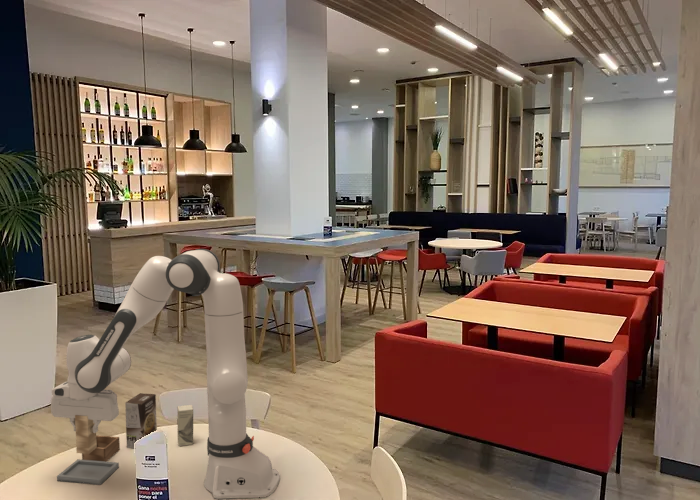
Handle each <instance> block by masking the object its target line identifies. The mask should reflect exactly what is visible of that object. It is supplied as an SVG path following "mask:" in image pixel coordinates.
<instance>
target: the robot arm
mask: <svg viewBox="0 0 700 500" xmlns="http://www.w3.org/2000/svg"><path fill="white" fill-rule="evenodd" d="M220 270H221V263H220V259H219V257H218V256H217V254H216V253H214V252H213V251H212V250H209V249H207V248H198V249H195V250H187V251H185V252H183V253H181V254H178V255H177V256H175V257H173V258H172V259H171V258H169V257H166V256H164V255H163V256H162V255H155V256H152V257H150V258H149V259H147V261H145V263H144V264H143V266H142V267H141V269H139V272H138V273H137V275H136V276H135V278H134V279H133V281H132V283H131V285H130V287H129V288H128V291H127V292H126V294H125V297H124V299H123V300H122V302H121V304H120V306H119V307H118V309H117V311H116V313H115V315H114V317H113V318H112V320H111V321H110V323H109V324H108V326H107V328H106V329H105V331H104V332H103V334H102V335H101V337H100V338H99V337H97V335H95V334H85V335H80V336H77V337H75V338H73V339H71V340H70V341H69V342H68V344H67V348H66V357H65V359H66V360H65V361H66V369H67V371H68V376H67V380H66V381H64V382H62V383H61V384H59V385H57V386H55V387H54V388H52V389H51V395H52V397H51V400H50V413H51V415H52V416H53V417H54V418H63V419H64V418H66V419H67V418H68V419H69V422H70V424H71V425H72V427H73V432H76V426H75V415H80V416H88V419H89V420H93V423H95V424H94V425H93V426H92V427H91V428H90V430H91V431H90V432H91V433H96V434H97V433H98V431H99V425H100V423H101V421H103V422H104V421H105V422H112V421H113V420H115V419H116V418H118V416H119V402H118V395H117V393H116V392H114V391H113V389H106V388H107V387H108V386H110V385H111V384H112V383H114V382H115V381H117V380H118V379H119V378H120V377H122V376H123V375H124V374H126V373H127V372H129V370H130V368H131V365H132V359H131V355H130V353H129V352H128V350H127V349H126V348H124V346H125V344H126V343H127V341H128V340H129V339H130V337H131V336H133V334H135V333H136V332H137V331H138V330H139V329H141V328H142V327H144V326H145V325H147V324H148V323H150V322H151V321H153V320H154V319H155V318H156V317H157V316H158V314H159V313H160V312H161V311H162V310H163V308H165V305H166V304H167V301H168V300H169V299H170V296H171V294H172V293H173V292H174V290H176V291H178V292H179V293H180V292H181V293H186V294H189V295H193V296H200V295H201V296H202V298H203V305H204V306H203V307H204V311H203V312H204V327H205V328H204V329H205V330H204V331H205V333H204V334H205V347H206V350H205V351H206V361H207V362H206V364H207V365H206V388H207V389H206V392H207V393H206V394H207V411H208V412H207V413H208V421H207V423H208V437H207V440H206V441H207V443H206V451H207V456H208V461H207V469H206V475H205V478H204V481H203V485H204V488H205V489H206V490H207V491H209V492H210V493H211V494H212V496H213V498H214V499H215V500H217V499H219V500H220V499H249V498H250V499H254V498H259V497H260V498H266V496H267V497H268V496H270V495H271V494H272V493H274V491H275V490H276V488H278V486H279V483H280V479H281V478H280V477H281V476H280V472H279V470H278V469H275V468H273V466H272V462H271V459H270V457H269V456H268V455H266V454H265V453H263V452H262V451H260V450H259V449H257V448H256V447H255V446H254V440H255V436H254V435H252V437H250V436H249V435H248V433H247V408H246V393H247V392H246V391H247V388H248V381H249V380H248V378H249V377H248V367H247V366H248V364H247V353H246V351H247V349H246V342H245V320H244V318H245V317H244V302H243V301H244V300H243V295H242V290H241V285H240V282H239V279H238V278H237V277H236V276H234V275H233V274H230V273H221V272H220Z"/></svg>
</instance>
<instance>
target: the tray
mask: <svg viewBox="0 0 700 500" xmlns="http://www.w3.org/2000/svg"><path fill="white" fill-rule="evenodd" d="M119 468H120V464H119V462H115V461H107V462H105V461H93V460H82V459H80V458H79V459H76V460H75V461H74V462H72V463H71V464H70V465H68V467H66V468H65V469H63V471H61V472H60V473H58V474H57V476H56V481H57V482H63V483H73V484H74V483H77V484H85V485H86V484H87V485H97V486H98V485H99V486H101V485H102V484H103V483H104V482H105V481H107V479H108V478H109V477H111V476H112V475H113V474H114V473H115V472H116V471H117V470H118V469H119Z"/></svg>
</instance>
